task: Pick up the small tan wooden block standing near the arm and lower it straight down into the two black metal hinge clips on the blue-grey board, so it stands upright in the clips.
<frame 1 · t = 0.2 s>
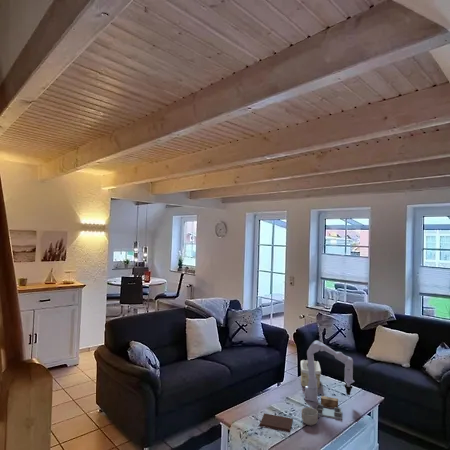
hand: (348, 392, 257), 10 cm above the table, fingers open, 7 cm apart
teacup: (310, 422, 234), on the table
tan wooden block: (329, 406, 256), on the table
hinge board: (328, 413, 246), on the table
notebook: (276, 423, 232), on the table
storage basket: (310, 382, 297), on the table
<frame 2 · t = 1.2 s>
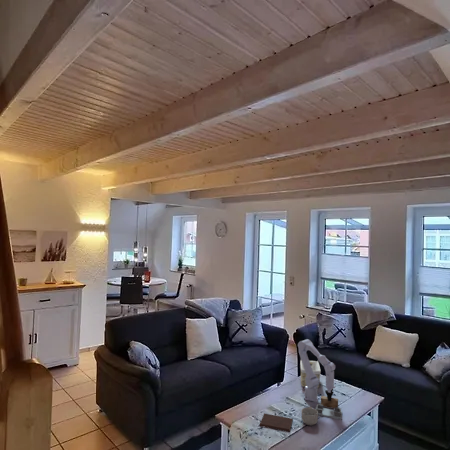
hand: (329, 398, 256), 6 cm above the table, fingers open, 7 cm apart
nothing on the table moved.
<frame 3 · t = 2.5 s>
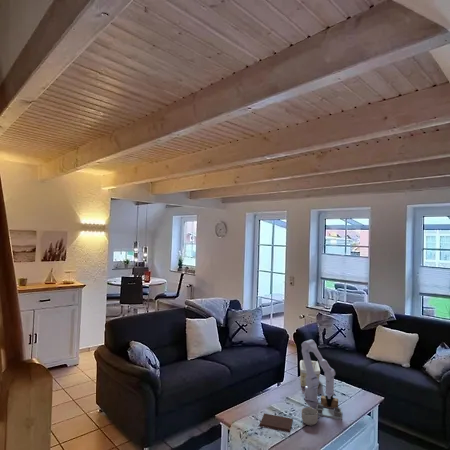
hand: (329, 404, 256), 1 cm above the table, fingers closed on tan wooden block, 4 cm apart
tan wooden block: (329, 406, 256), on the table, touching gripper
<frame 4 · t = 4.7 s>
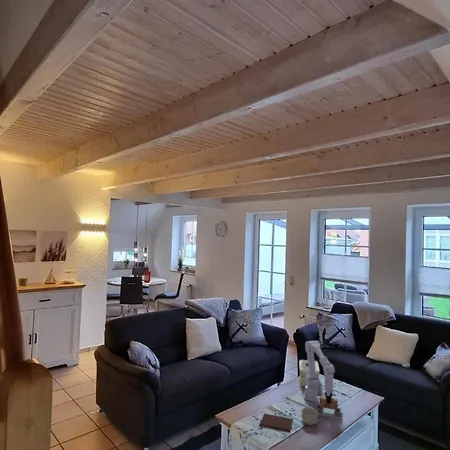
hand: (328, 401, 246), 8 cm above the table, fingers closed on tan wooden block, 4 cm apart
tan wooden block: (328, 407, 246), point 4 cm above the table, touching gripper
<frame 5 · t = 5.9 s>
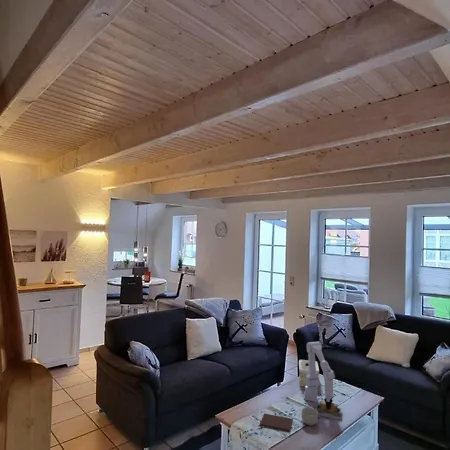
hand: (328, 407, 246), 4 cm above the table, fingers closed on tan wooden block, 4 cm apart
tan wooden block: (328, 412, 246), point 1 cm above the table, touching gripper, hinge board
when the fingers open (4 cm above the table, at t = 6.7 s): tan wooden block stays where it is, resting on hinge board.
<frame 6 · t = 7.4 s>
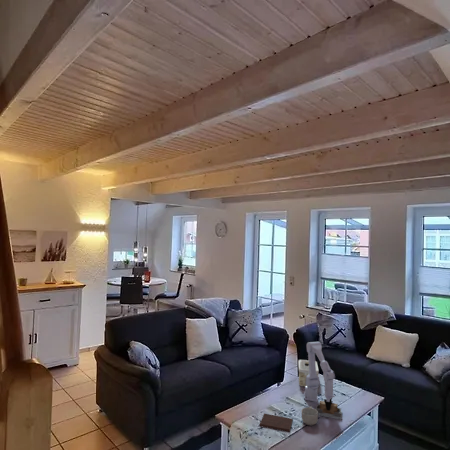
hand: (328, 407, 246), 4 cm above the table, fingers open, 7 cm apart
tan wooden block: (328, 412, 246), point 1 cm above the table, touching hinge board
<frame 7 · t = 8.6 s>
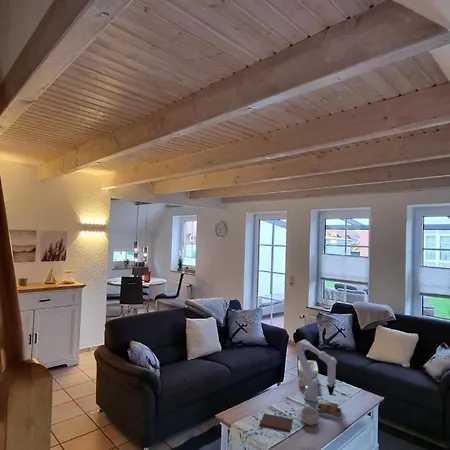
hand: (331, 392, 258), 9 cm above the table, fingers open, 7 cm apart
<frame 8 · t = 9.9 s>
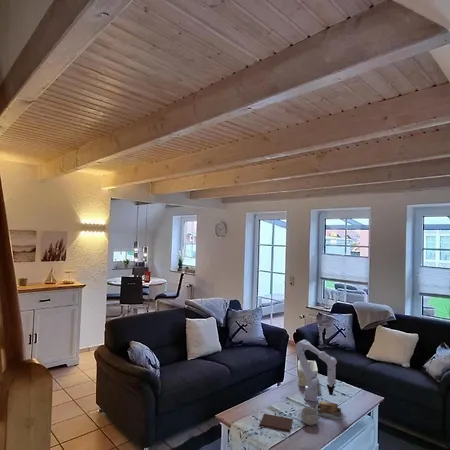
hand: (331, 392, 258), 9 cm above the table, fingers open, 7 cm apart
at the end: tan wooden block 0.0 cm off-centre on the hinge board, point 1.0 cm above the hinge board's base; tan wooden block tilted 0°; the gripper is holding nothing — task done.
